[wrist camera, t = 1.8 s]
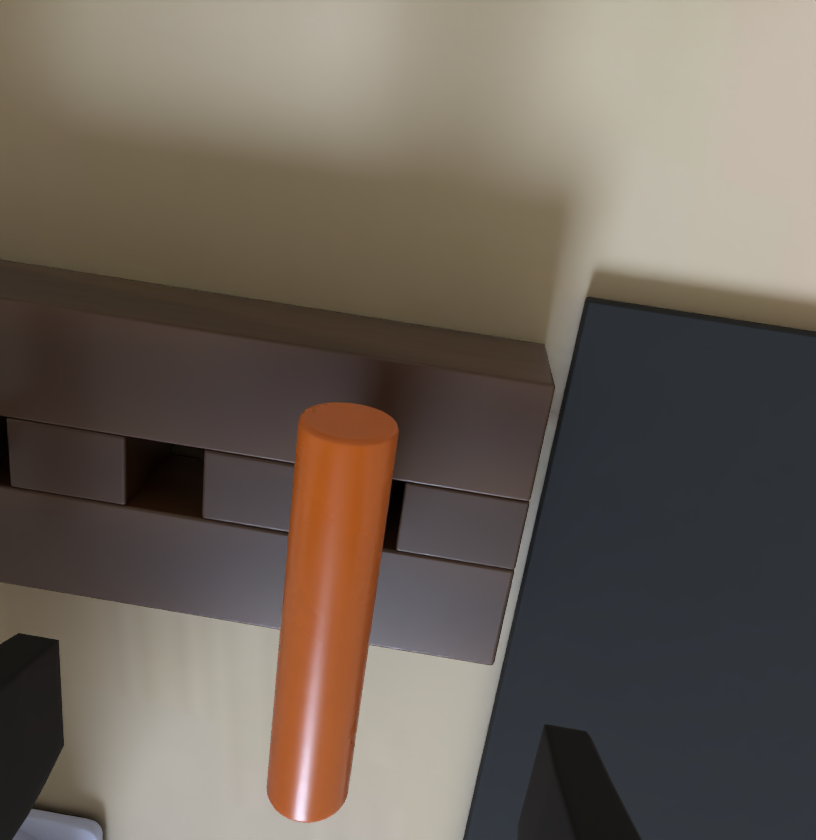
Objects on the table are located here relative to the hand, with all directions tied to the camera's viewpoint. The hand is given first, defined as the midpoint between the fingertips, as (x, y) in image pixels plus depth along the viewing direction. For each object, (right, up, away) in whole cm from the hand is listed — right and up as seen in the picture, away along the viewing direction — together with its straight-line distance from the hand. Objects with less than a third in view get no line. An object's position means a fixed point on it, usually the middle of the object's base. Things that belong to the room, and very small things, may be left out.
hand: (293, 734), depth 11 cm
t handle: (+1, +4, +9) cm, 10 cm away
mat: (+10, -3, +11) cm, 15 cm away
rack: (-4, +4, +9) cm, 11 cm away
